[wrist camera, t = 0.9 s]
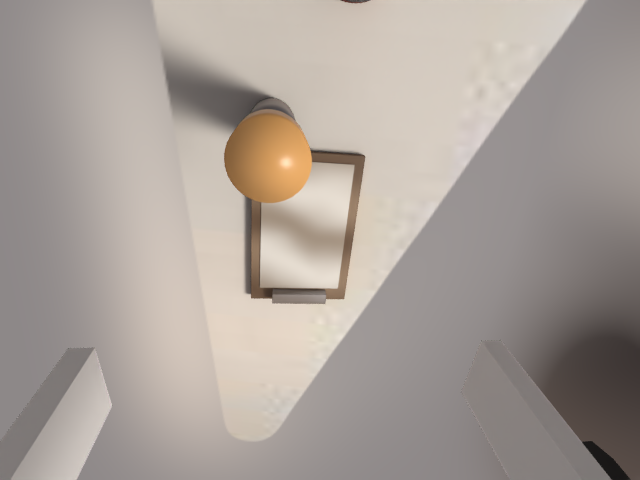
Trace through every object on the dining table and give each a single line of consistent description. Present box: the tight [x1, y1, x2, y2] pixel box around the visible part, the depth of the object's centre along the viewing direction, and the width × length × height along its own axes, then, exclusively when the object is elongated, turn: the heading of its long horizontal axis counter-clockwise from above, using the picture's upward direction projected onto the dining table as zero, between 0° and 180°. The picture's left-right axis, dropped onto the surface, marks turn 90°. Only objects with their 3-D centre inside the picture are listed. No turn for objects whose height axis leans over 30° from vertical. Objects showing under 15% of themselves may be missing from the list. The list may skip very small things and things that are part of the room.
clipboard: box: [251, 151, 365, 304], centre depth 30 cm, size 14×9×2 cm, turn 175°
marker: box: [224, 98, 312, 203], centre depth 20 cm, size 4×4×13 cm
